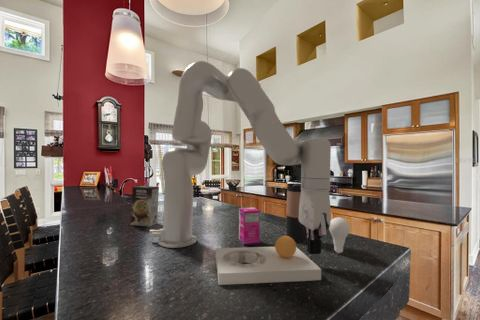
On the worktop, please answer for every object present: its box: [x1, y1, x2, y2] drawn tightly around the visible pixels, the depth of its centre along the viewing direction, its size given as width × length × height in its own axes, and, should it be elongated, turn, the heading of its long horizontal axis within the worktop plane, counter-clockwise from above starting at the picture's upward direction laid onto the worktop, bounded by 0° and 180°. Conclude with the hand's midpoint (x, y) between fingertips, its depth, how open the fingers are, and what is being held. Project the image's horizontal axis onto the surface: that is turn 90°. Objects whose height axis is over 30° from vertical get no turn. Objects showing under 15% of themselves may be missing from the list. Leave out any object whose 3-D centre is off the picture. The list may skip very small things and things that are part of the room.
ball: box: [274, 235, 297, 258], centre depth 63 cm, size 6×6×6 cm
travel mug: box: [285, 182, 307, 244], centre depth 87 cm, size 8×8×20 cm
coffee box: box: [130, 185, 160, 227], centre depth 103 cm, size 9×6×16 cm
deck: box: [214, 246, 322, 286], centre depth 62 cm, size 24×16×2 cm, turn 99°
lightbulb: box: [328, 216, 351, 254], centre depth 74 cm, size 6×6×11 cm
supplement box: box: [238, 206, 261, 247], centre depth 82 cm, size 6×6×12 cm
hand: (313, 252), depth 65 cm, fingers closed
